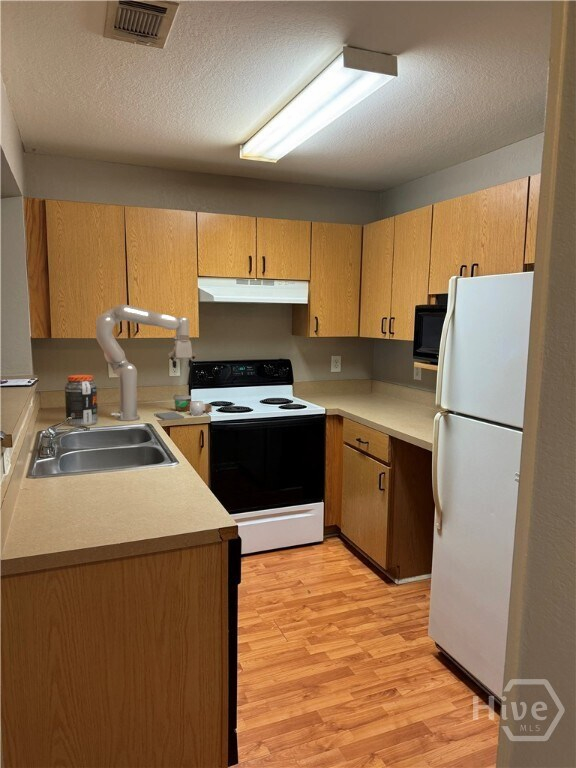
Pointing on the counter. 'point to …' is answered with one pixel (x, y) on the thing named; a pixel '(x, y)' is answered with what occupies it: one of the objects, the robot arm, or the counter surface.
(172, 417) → the slate mat
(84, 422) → the supplement tub
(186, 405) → the food container
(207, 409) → the walnut block
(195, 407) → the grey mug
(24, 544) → the counter surface
